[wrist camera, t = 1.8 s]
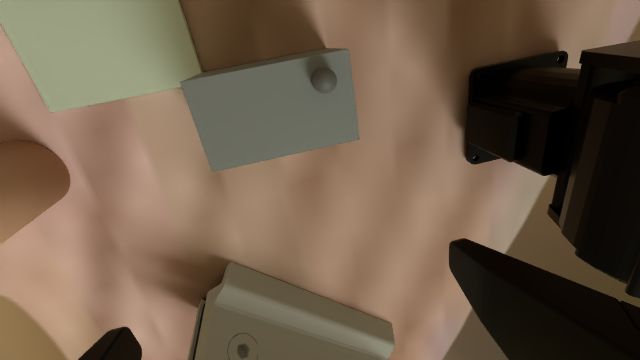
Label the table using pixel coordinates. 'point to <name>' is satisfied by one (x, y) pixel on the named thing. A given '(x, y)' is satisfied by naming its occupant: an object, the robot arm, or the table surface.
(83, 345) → the table surface
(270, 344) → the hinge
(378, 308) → the table surface
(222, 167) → the unit
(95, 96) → the pad
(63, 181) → the terracotta cylinder
